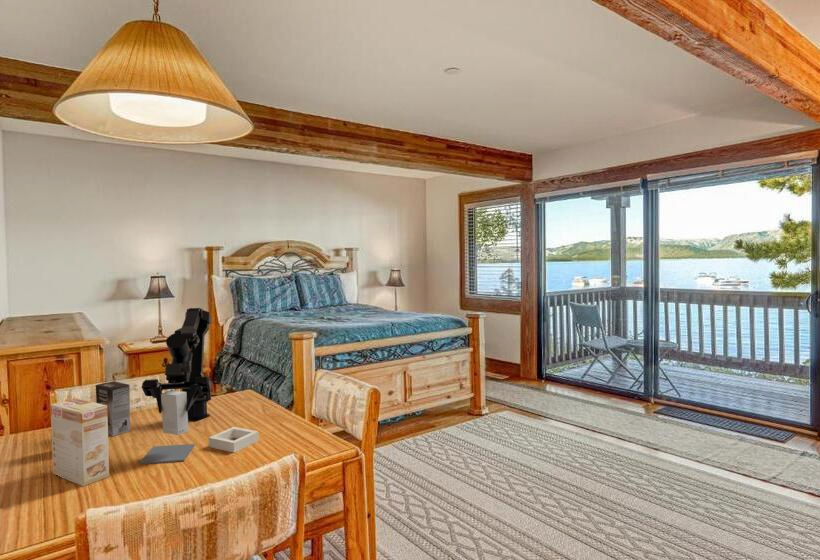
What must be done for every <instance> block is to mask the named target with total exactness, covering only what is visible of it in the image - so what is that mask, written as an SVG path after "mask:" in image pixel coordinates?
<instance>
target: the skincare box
mask: <svg viewBox="0 0 820 560" xmlns="http://www.w3.org/2000/svg"><path fill="white" fill-rule="evenodd" d="M161 403H162V412H161V417H162V418H161V420H162V433H163V434H168V435H169V434H170V435H175V436H180V435H183V434H186V433H187V432H188V431H189V419H188V413H187V411H186V405H187V392H182V390H181V391H180V390H175V389H169V390H168V391H167V390H166V391H165V392H162V394H161Z"/></svg>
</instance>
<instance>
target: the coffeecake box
mask: <svg viewBox="0 0 820 560" xmlns="http://www.w3.org/2000/svg"><path fill="white" fill-rule="evenodd" d="M50 422H51V423H50V424H51V426H50V427H51V447H52V448H51V452H52V454H51V455H52V474H53V473H54V474H56V475H58V476H57V477H59V476H60V477H59V478H61V477H62V478H61V479H64V478H65V479H64V480H66V479H67V481H69V482H71V483H73V484H76V485H79V486H82V487H85V486H88V485H90V484H92V483H95V482H98V481H102V480H104V479H106V478H109V477H110V476H111V475H110V460H109V459H110V458H109V457H110V454H109V453H110V452H109V435H108V416H107V405H103V404H99V403H96V402H93V401H89V400H85V399H81V398H72V399H67V400H63V401H59V402H55V403H51V404H50ZM54 474H53V475H54ZM56 475H55V476H56Z"/></svg>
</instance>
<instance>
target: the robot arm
mask: <svg viewBox="0 0 820 560" xmlns="http://www.w3.org/2000/svg"><path fill="white" fill-rule="evenodd" d="M184 317H185V319H184V321H183V323H182V326H181V327H180V328H178V329H176V330H174V332H173V334H170V335H169V336H168V337H167V338H166V340H165V345H166V347H167V349H168V352H169V356H170V357H172V358H171V363H165V369H164V376H165V380H166V381H167V382H160V381H159V379H158V378H153V379H145V380H143V381H142V383H141V390H142V391H143V394H144V396H145V397H152V398H153V399H156V405H157V410H158V413H159V414H162V403H161V394H162V393H163V392H164V391H165V390H166V391H167V390H168V391H169V390H181V391H182V392H187V405H186V411H187V413H188V421H190V420H191V421H194V422H198V421H199V420H200V421H201V420H203V419H206V418H208V417H210V416H211V414H210V413H208V402H209V401H212V394H211V392H212V381H211V379H210V377H209V376H204V357H205V354H204V353H205V336H206V335H207V333H208V332H209V330H210V325H211V324H212V314H211V312H209V311H207V310H204V309H203V308H201V307H194V308H193V307H189V308H186V312H185V315H184ZM163 390H164V391H163Z"/></svg>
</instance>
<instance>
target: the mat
mask: <svg viewBox="0 0 820 560" xmlns="http://www.w3.org/2000/svg"><path fill="white" fill-rule="evenodd" d="M195 445H196V444H195V443H189V444H186V443H185V444H172V445H171V444H170V445H155V446H152V448H151V449H150V450H148V452H147V453H146V455H144V456H143V457H142V459H141V460H139V462H138V465H150V464H165V463H167V464H168V463H181V462H184V461H185V460H186V459H187V458H188V456H189V455H190V453H191V452H192V451H193V449H194V448H195Z"/></svg>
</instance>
